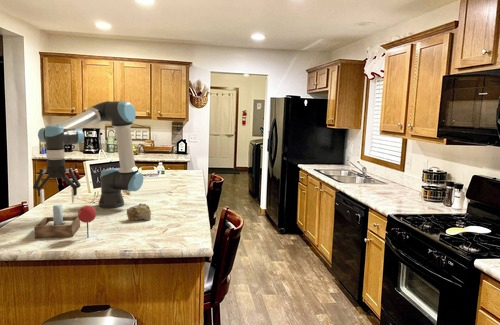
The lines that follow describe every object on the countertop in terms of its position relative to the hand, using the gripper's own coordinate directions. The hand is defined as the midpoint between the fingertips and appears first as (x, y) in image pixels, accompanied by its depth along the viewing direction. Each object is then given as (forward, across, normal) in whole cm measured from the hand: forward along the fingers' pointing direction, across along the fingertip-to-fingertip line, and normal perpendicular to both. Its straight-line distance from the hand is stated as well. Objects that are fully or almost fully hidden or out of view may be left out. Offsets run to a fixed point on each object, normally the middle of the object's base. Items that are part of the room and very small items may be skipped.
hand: (58, 202), depth 181 cm
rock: (+16, -36, -18) cm, 43 cm away
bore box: (+14, 0, +1) cm, 15 cm away
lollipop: (+15, -15, +11) cm, 23 cm away
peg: (+14, 0, +1) cm, 14 cm away
